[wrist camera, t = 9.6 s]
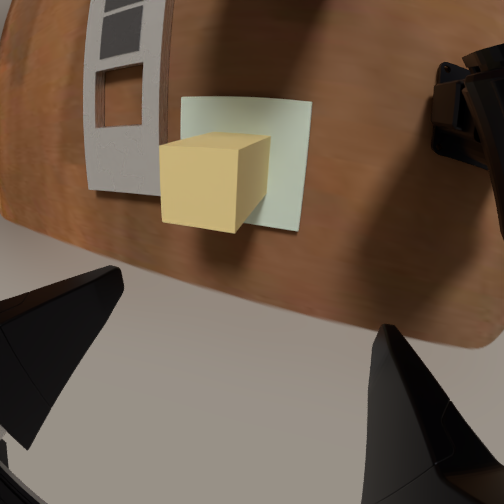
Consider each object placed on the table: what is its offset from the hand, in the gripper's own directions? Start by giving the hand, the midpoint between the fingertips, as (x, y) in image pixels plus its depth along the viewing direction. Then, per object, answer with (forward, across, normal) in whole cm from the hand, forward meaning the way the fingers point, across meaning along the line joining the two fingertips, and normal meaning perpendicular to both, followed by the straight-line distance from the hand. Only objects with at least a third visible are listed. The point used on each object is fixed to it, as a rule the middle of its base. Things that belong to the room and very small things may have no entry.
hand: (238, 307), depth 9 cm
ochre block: (+12, +4, -2) cm, 13 cm away
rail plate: (+13, +14, -9) cm, 21 cm away
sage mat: (+13, +4, -2) cm, 14 cm away
